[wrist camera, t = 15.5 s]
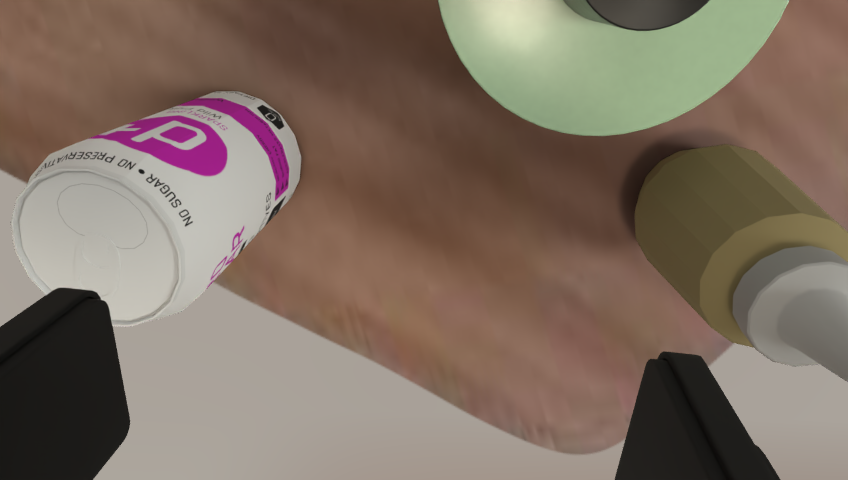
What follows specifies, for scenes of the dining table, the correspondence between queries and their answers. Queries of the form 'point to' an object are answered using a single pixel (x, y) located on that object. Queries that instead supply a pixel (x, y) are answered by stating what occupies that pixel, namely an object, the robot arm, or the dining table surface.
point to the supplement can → (156, 204)
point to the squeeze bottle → (749, 253)
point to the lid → (606, 56)
